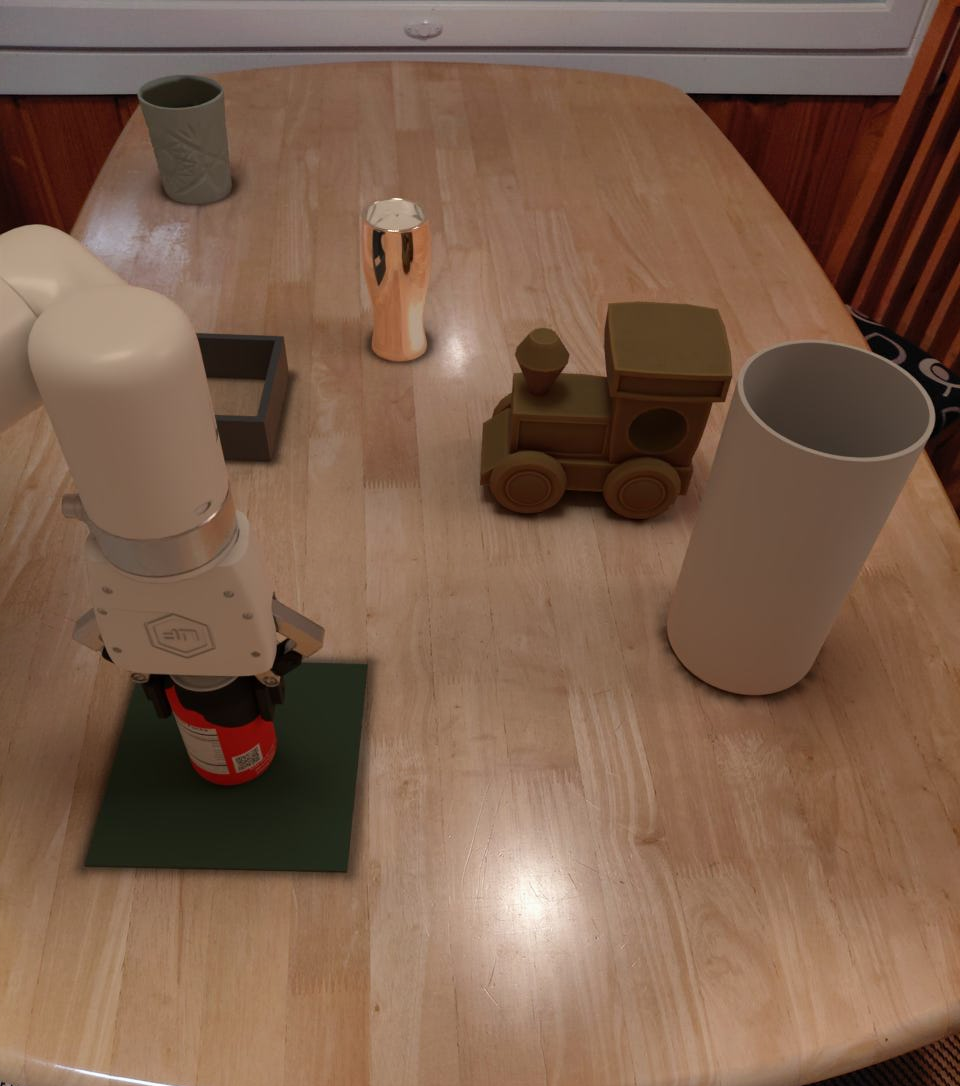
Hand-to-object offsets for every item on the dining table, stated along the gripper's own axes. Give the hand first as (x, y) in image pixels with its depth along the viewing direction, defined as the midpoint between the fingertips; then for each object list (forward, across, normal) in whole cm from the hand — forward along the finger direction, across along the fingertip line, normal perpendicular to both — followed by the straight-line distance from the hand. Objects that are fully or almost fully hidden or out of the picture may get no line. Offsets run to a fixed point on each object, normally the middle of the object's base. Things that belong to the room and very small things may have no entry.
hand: (219, 701), depth 67 cm
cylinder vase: (+8, +40, +13) cm, 43 cm away
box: (+8, -9, +40) cm, 42 cm away
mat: (+7, 0, 0) cm, 7 cm away
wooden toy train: (+8, +28, +32) cm, 43 cm away
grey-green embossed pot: (+8, -19, +86) cm, 88 cm away
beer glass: (+8, +9, +53) cm, 54 cm away
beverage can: (+7, 0, 0) cm, 7 cm away
